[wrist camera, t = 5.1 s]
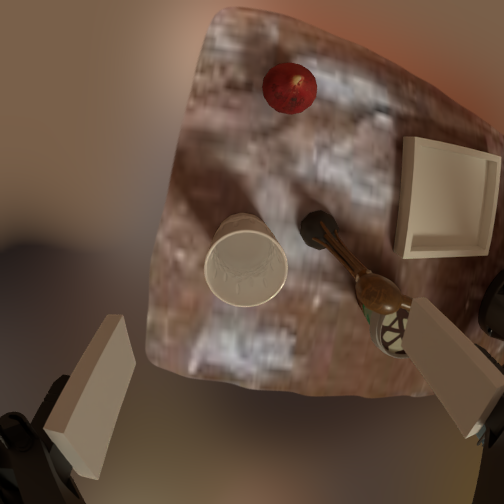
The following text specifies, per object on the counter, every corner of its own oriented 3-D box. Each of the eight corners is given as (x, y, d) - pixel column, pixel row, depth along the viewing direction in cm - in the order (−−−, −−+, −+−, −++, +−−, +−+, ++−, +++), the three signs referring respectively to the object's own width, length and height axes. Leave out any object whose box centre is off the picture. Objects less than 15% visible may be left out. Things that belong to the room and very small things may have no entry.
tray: (489, 154, 36) (501, 156, 33) (477, 249, 41) (487, 255, 38) (403, 136, 35) (414, 136, 32) (393, 251, 40) (403, 258, 37)
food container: (331, 296, 42) (355, 336, 32) (361, 263, 40) (393, 297, 31) (380, 334, 45) (407, 373, 35) (407, 307, 43) (439, 342, 34)
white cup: (226, 197, 36) (224, 215, 27) (285, 223, 38) (302, 250, 28) (201, 253, 39) (191, 289, 29) (257, 277, 40) (264, 318, 31)
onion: (303, 121, 34) (322, 115, 26) (255, 112, 33) (262, 102, 26) (311, 77, 32) (331, 61, 24) (263, 67, 31) (272, 47, 24)
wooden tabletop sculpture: (348, 222, 38) (437, 291, 19) (333, 254, 40) (405, 342, 21) (308, 205, 37) (380, 267, 18) (293, 238, 39) (347, 326, 20)
